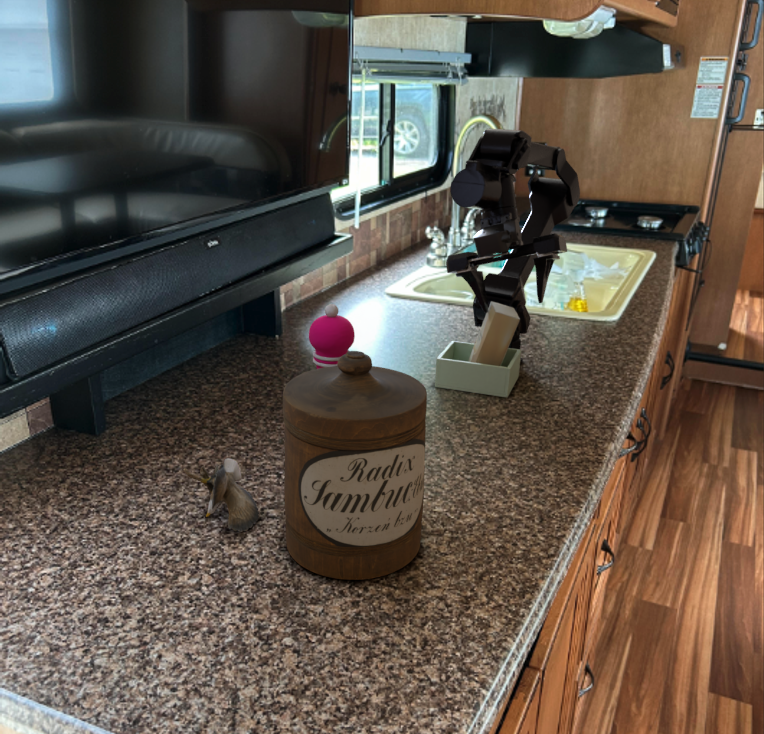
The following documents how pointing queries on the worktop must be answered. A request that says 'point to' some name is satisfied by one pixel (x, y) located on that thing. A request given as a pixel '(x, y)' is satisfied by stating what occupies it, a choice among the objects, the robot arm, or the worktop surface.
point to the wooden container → (354, 468)
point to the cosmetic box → (495, 335)
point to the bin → (476, 371)
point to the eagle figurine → (229, 495)
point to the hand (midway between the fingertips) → (512, 307)
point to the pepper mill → (330, 337)
